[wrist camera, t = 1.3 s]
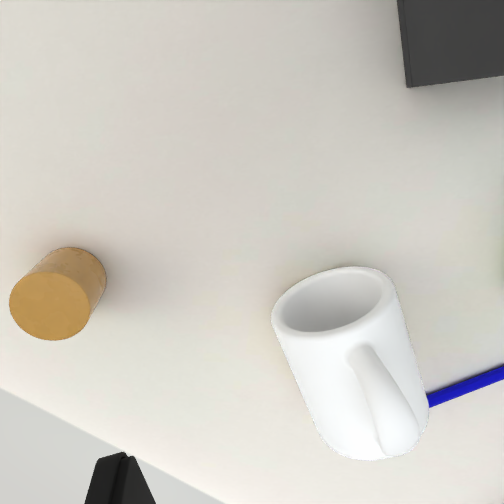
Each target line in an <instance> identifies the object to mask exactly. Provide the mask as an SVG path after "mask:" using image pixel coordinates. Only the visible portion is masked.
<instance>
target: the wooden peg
mask: <svg viewBox="0 0 504 504" xmlns="http://www.w3.org/2000/svg"><path fill="white" fill-rule="evenodd" d="M105 287H106V273H105V270H104V268H103V266H102V264H101V263H100V262H99V261H98V259H97V258H95V257H94V256H93V255H92V254H90V253H88V252H86V251H84V250H81V249H78V248H61V249H57V250H55V251H53V252H51V253H49V254H48V255H47V256H46V257H45V258H44V259H42V260H41V261H40V262H39V263H38V264H37V265H36V266H35V267H34V268H33V269H32V270H31V271H29V272H28V273H27V274H26V275H25V276H24V277H23V278H22V279H21V280H20V281H19V282H18V283H17V284H16V285H15V286H14V288H13V290H12V292H11V294H10V299H9V307H10V312H11V315H12V317H13V319H14V320H15V322H16V323H17V324H18V326H19V327H20V328H22V329H23V330H24V331H25V332H27V333H28V334H30V335H32V336H34V337H37V338H40V339H44V340H62V339H66V338H69V337H72V336H74V335H75V334H77V333H78V332H80V331H81V330H82V329H83V328H84V327H85V325H86V324H87V322H88V320H89V318H90V316H91V314H92V313H93V311H94V309H95V307H96V305H97V303H98V301H99V300H100V298H101V296H102V294H103V292H104V290H105Z"/></svg>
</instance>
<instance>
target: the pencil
mask: <svg viewBox="0 0 504 504" xmlns="http://www.w3.org/2000/svg"><path fill="white" fill-rule="evenodd" d="M503 379H504V366H502V367H500V368H497V369H495V370H492V371H490V372H487V373H484V374H482V375H479V376H477V377H474V378H471V379H469V380H466V381H464V382H461V383H458V384H456V385H453V386H451V387H448V388H445V389H443V390H440V391H438V392H435V393H432V394H430V395H427V396H426V397H427V400H428V404H429V408H430V407H433V406H436V405H438V404H441V403H443V402H446V401H449V400H451V399H454V398H456V397H459V396H462V395H464V394H467V393H469V392H472V391H474V390H477V389H480V388H482V387H485V386H487V385H490V384H493V383H495V382H498V381H500V380H503Z"/></svg>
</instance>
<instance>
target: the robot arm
mask: <svg viewBox="0 0 504 504" xmlns="http://www.w3.org/2000/svg"><path fill="white" fill-rule="evenodd" d="M85 504H156V503H155V501H154V498H153V496H152V494H151V492H150V489H149V487H148V485H147V483H146V481H145V478H144V476H143V474H142V472H141V470H140V467H139V466H138V463H137V461H136V459H135V457H134V456H130V457H128V456H127V455H126V453H125V452H120V453H116V454H113V455H110V456H106V457H102V458H99V459H98V461H97V463H96V465H95V469H94V472H93V476H92V479H91V483H90V486H89V490H88V493H87V496H86V500H85Z"/></svg>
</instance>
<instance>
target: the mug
mask: <svg viewBox="0 0 504 504" xmlns="http://www.w3.org/2000/svg"><path fill="white" fill-rule="evenodd" d="M271 323H272V327H273V329H274V331H275V334H276V336H277V338H278V340H279V343H280V345H281V347H282V350H283V352H284V354H285V357H286V359H287V361H288V364H289V366H290V368H291V371H292V373H293V375H294V378H295V380H296V382H297V384H298V387H299V389H300V391H301V394H302V396H303V398H304V401H305V403H306V405H307V408H308V410H309V412H310V415H311V417H312V419H313V421H314V424H315V426H316V428H317V431H318V433H319V435H320V437H321V438H322V440H323V441H324V442H325V443H326V445H327V446H328V447H330V448H331V449H332V450H334V451H335V452H337V453H339V454H340V455H343V456H345V457H348V458H351V459H356V460H364V461H373V460H381V459H386V458H389V457H397V456H401V455H404V454H406V453H408V452H409V451H411V450H412V449H413V448H414V447H415V446H416V445H417V443H418V442H419V439H420V436H421V435H422V433H423V432H424V430H425V428H426V426H427V423H428V419H429V404H428V400H427V397H426V393H425V390H424V386H423V383H422V379H421V376H420V372H419V369H418V365H417V362H416V358H415V355H414V351H413V348H412V344H411V341H410V337H409V334H408V330H407V327H406V323H405V320H404V316H403V313H402V309H401V306H400V302H399V299H398V295H397V292H396V288H395V285H394V283H393V281H392V280H391V279H390V277H389V276H387V275H386V274H385V273H383V272H381V271H379V270H376V269H373V268H368V267H360V266H351V267H341V268H335V269H330V270H327V271H323V272H320V273H317V274H315V275H312V276H310V277H308V278H306V279H304V280H302V281H300V282H298V283H297V284H295V285H294V286H292V287H291V288H290V289H288V290H287V291H286V292H285V293H284V294H283V295H282V296H281V297H280V298H279V299H278V301H277V302H276V304H275V305H274V308H273V310H272V314H271Z"/></svg>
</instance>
